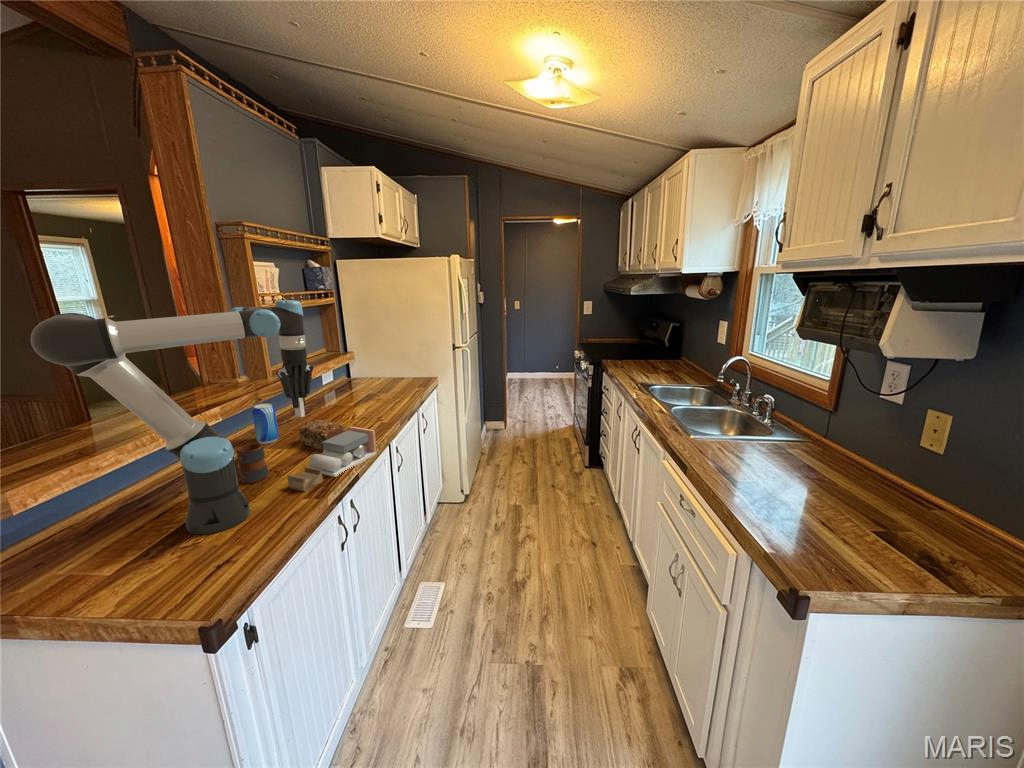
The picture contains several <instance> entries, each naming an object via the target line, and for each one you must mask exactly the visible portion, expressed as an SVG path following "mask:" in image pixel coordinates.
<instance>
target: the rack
mask: <svg viewBox="0 0 1024 768" xmlns="http://www.w3.org/2000/svg"><path fill="white" fill-rule="evenodd" d="M303 469H304V471H302V472H300V473H298V474H296V475H295V474H294V475H292V474H287V476H286V477H287V483H288V488H289V489H293V490H297V491H302V492H307V491H309V490H310V489H312V488H314V487H317V485H319V484H321V483H322V482H324V480H323V474H322V470H321V469H317V468H312V467H311V466H307V465H306V466H304V468H303Z"/></svg>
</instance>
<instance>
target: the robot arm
mask: <svg viewBox="0 0 1024 768" xmlns="http://www.w3.org/2000/svg"><path fill="white" fill-rule="evenodd" d="M304 323H305V322H304V311H303V306H302V302H300V300H293V299H292V300H291V299H289V300H285V299H283V300H275V305H274V306H240V307H239V306H238V307H237V306H236V307H232V308H231V311H226V312H225V311H224V312H214V313H204V314H201V313H200V314H193V315H181V316H170V317H169V316H167V317H157V318H155V317H154V318H146V319H135V320H134V319H133V320H122V321H121V320H120V321H114V320H112V319H110V318H108V317H104V318H95V317H93V316H90V315H88V314H84V313H78V312H65V313H64V312H63V313H59V314H57V315H53V316H51V317H50V318H46V319H45V320H42V321H41V322H39V323H38V324H37V325H36V326H35V327H34V328H33V329H32V331H31V334H30V344H31V347H32V349H33V350H34V352H35V353H36V354H37V355H38V356H39V357H40V358H42V359H43V360H46V361H48V362H49V363H52V364H55V365H59V366H65V367H66V368H67V369H68V370H69V371H71V372H72V373H74V375H76V376H78V377H88V378H90V379H92V380H93V381H94V382H95V383H97V384H98V385H99V387H102V389H103V390H105V392H107V393H108V394H109V395H111V396H112V397H113V398H114V399H116V400H117V401H118V402H119V403H120V404H122V405H123V406H124V407H125V408H126V409H128V410H129V411H130V412H131V413H132V414H133V415H135V417H137V418H139V420H140V421H142V422H143V423H144V424H146V426H148V427H149V428H150V429H151V430H153V431H154V432H155V433H156V434H158V436H160V437H161V438H162V439H163V440H165V449H166V450H167V451H168V452H169V453H170V454H171V455H173V456H174V457H176V459H177V460H179V463H180V465H181V466H182V471H183V476H184V481H185V487H186V491H187V495H188V501H189V502H188V507H187V511H186V517H185V528H186V530H187V531H188V533H190V534H194V535H209V534H215V533H216V534H217V533H219V532H224V531H225V530H229V529H232V528H233V527H236V526H237V525H239V524H241V523H243V522H244V521H245V520H246V519H247V518H248V517H249V516H250V514H251V507H250V503H249V501H248V500H247V498H246V496H245V495H244V493H243V492H242V490H241V489H240V484H239V478H238V477H237V472H236V466H235V461H234V460H235V455H234V454H235V450H234V448H233V445H232V443H231V441H230V440H228V439H227V438H226V437H225V436H224V435H223V434H222V433H221V432H220V431H218V430H215V429H214V428H213V427H212V426H210V425H209V424H208V423H207V422H206V421H204V420H196V419H194V418H193V417H192V416H191V415H190V414H189V413H188V412H186V411H185V410H184V409H183V407H181V406H180V405H179V404H178V403H177V402H176V401H174V399H172V398H171V397H170V396H169V395H167V393H166V392H165V391H163V390H162V388H160V387H159V386H158V385H157V384H156V383H155V382H154V381H153V380H151V379H150V378H149V377H148V376H147V375H146V374H145V373H143V372H142V370H140V369H139V368H138V367H137V366H136V365H135V363H133V362H132V361H130V359H128V358H127V357H126V354H128V353H129V354H130V353H136V352H142V351H143V352H145V351H151V350H152V351H153V350H159V349H168V348H174V347H175V348H176V347H183V346H185V347H186V346H191V345H198V344H206V343H207V344H208V343H216V342H223V341H230V340H231V341H232V340H238V339H239V340H240V339H248V338H250V339H251V338H256V337H258V338H259V337H261V338H270V337H273V336H275V335H276V334H277V333H278V339H279V341H278V342H279V347H280V348H281V349H280V358H281V361H282V368H281V369H280V370H277V371H276V372H275V374H276V376H277V377H278V378H279V381H280V384H281V387H282V389H283V392H284V395H285V398H288V399H291V400H292V401H291V402H292V408H293V409H294V416H295V417H297V418H304V417H306V416H305V415H306V412H305V407H306V406H305V405H306V400H305V398H307V397H308V395H310V390H311V381H312V374H313V373H312V372H313V371H314V365H309V364H308V362H307V358H308V355H307V348H306V343H307V342H306V334H305V324H304Z"/></svg>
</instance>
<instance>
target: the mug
mask: <svg viewBox="0 0 1024 768" xmlns="http://www.w3.org/2000/svg"><path fill="white" fill-rule="evenodd" d="M235 452H236V457H237V458H234V461H235V466H236V472H237V478H238V480H240V481H241V482H242V483H243V484H254V483H259V482H261V481H263V480H265V479H266V478H267V477H268V476H269V469H268V465H267V462H266V459H265V457H266V454H265V451H264V444H260V443H259V442H254V443H247V444H244V445H241V446H239V447H237V448H236V451H235ZM240 481H239V482H240Z"/></svg>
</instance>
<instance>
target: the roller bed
mask: <svg viewBox="0 0 1024 768" xmlns="http://www.w3.org/2000/svg"><path fill="white" fill-rule="evenodd" d="M348 431H354V432H360V433H366V434H368V438H369V441H368V442H366V443H364V444H362V445H365V446H366V448H367V453H366V455H365V456H364V457H363V458H358V457H353V453H350V452H346V453H339V452H334V451H329V450H324V451H322V453H321V454H320V453H314V454H313V455H312V456H311V457H310V460H309V465H310V466H309V467H312V468H317V469H321V470H322V475H325V476H329V477H334V478H337V477H338V476H340V475H342V474H343V473H345V472H346V471H345V470H347V469H349V468H350V469H352V468H354V467H355V466H357V465H359V464H361V463H363V462H364V461H367V460H368V459H370V458H372V457H373V456H375V455H377V451H378V450H377V441H376V440H377V439H376V430H374V429H369V428H363V427H357V426H349V427H348ZM353 466H354V467H353ZM351 467H352V468H351ZM350 469H349V470H350ZM344 471H345V472H344ZM347 471H348V470H347ZM342 472H343V473H342ZM341 473H342V474H341ZM339 474H340V475H339Z"/></svg>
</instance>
